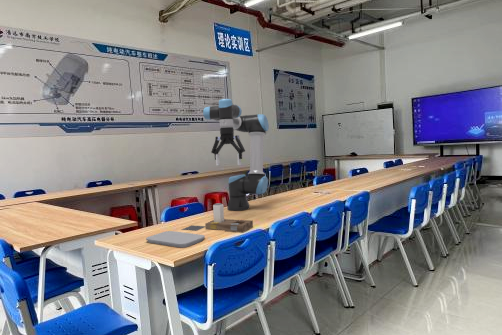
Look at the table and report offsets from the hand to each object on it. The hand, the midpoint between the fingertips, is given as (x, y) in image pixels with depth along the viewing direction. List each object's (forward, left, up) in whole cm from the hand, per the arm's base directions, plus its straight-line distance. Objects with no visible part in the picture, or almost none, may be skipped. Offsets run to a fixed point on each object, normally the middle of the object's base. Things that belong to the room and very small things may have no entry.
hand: (228, 165), depth 197 cm
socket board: (+12, +5, -33) cm, 35 cm away
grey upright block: (+12, -1, -32) cm, 34 cm away
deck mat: (+17, -14, -33) cm, 39 cm away
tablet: (+40, -9, -33) cm, 53 cm away
